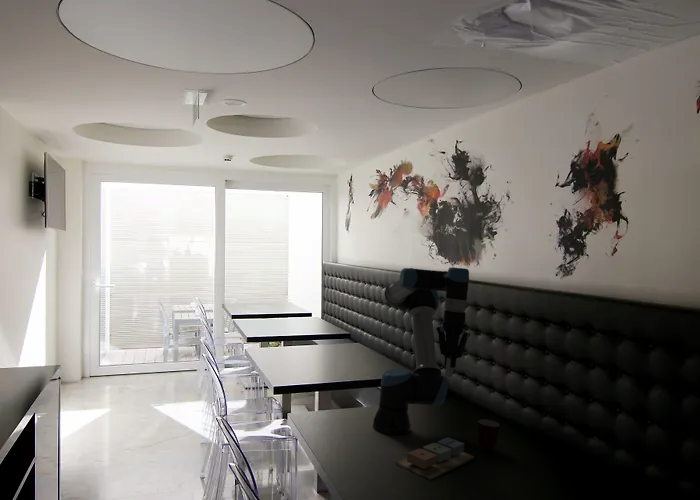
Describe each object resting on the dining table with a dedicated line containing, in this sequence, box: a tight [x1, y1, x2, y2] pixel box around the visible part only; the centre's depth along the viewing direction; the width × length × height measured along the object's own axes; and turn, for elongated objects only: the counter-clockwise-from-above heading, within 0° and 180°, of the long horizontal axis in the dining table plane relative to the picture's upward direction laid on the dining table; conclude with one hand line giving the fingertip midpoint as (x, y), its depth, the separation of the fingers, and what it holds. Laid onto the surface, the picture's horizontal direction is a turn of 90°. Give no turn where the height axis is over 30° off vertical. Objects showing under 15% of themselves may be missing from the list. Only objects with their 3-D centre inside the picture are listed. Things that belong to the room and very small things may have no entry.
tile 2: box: [422, 442, 451, 462], centre depth 173 cm, size 7×7×3 cm
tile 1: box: [406, 448, 437, 469], centre depth 166 cm, size 7×7×3 cm
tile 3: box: [437, 436, 465, 456], centre depth 180 cm, size 7×7×3 cm
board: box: [395, 451, 475, 481], centre depth 173 cm, size 14×28×3 cm, turn 137°
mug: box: [476, 418, 501, 452], centre depth 187 cm, size 10×8×10 cm
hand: (448, 375), depth 179 cm, fingers closed
